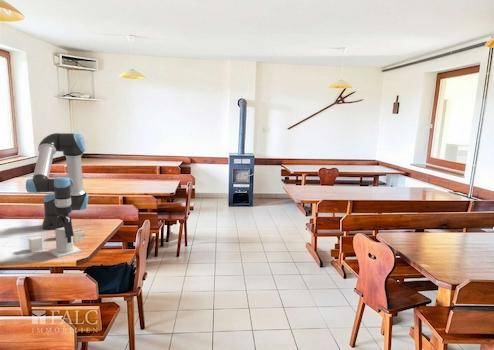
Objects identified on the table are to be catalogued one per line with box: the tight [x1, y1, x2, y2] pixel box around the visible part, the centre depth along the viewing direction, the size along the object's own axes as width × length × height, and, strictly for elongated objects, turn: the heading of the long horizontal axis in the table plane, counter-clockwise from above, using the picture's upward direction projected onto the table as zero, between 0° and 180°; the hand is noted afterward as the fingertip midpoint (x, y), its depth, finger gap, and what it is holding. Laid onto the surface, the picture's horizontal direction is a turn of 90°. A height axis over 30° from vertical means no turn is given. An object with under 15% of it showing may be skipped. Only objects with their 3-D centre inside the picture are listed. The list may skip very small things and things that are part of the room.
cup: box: [54, 227, 75, 253], centre depth 174 cm, size 8×8×12 cm
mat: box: [48, 245, 83, 259], centre depth 175 cm, size 12×12×1 cm
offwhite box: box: [28, 235, 44, 253], centre depth 176 cm, size 5×5×7 cm
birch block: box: [73, 228, 86, 244], centre depth 193 cm, size 6×6×6 cm
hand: (65, 245), depth 174 cm, fingers open, 9 cm apart
